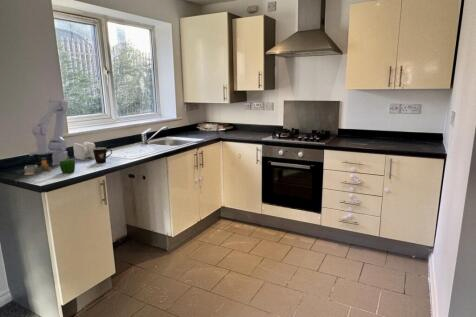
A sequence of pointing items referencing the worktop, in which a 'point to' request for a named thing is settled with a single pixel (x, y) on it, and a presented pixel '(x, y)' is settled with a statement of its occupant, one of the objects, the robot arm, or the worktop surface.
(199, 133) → the worktop surface
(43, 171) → the board
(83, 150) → the white lumpy block
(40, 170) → the clip
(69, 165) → the bell pepper
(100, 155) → the coffee mug
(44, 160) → the connector plug
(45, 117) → the robot arm
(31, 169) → the end holder
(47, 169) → the clip
